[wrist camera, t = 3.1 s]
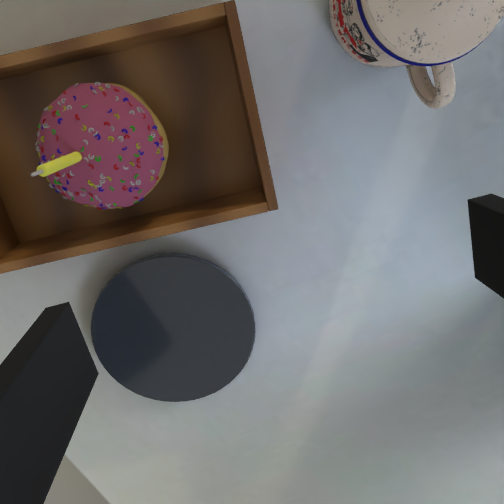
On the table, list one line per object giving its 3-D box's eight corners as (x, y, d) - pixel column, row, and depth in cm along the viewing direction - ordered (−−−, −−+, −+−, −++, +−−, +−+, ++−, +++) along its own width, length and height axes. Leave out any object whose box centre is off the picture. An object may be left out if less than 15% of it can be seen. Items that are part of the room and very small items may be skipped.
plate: (71, 272, 40) (67, 278, 39) (234, 234, 40) (234, 239, 38) (123, 407, 44) (120, 416, 43) (268, 374, 44) (270, 382, 43)
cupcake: (86, 209, 38) (28, 259, 26) (40, 102, 35) (-47, 107, 24) (188, 177, 37) (174, 214, 26) (150, 66, 35) (115, 54, 23)
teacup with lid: (308, -39, 33) (350, -101, 22) (431, -89, 33) (537, -180, 22) (355, 126, 37) (411, 141, 26) (466, 83, 37) (571, 80, 26)
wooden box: (16, 251, 39) (-18, 277, 33) (-54, 82, 35) (-106, 80, 29) (270, 192, 39) (278, 209, 33) (232, 14, 34) (234, -1, 29)
